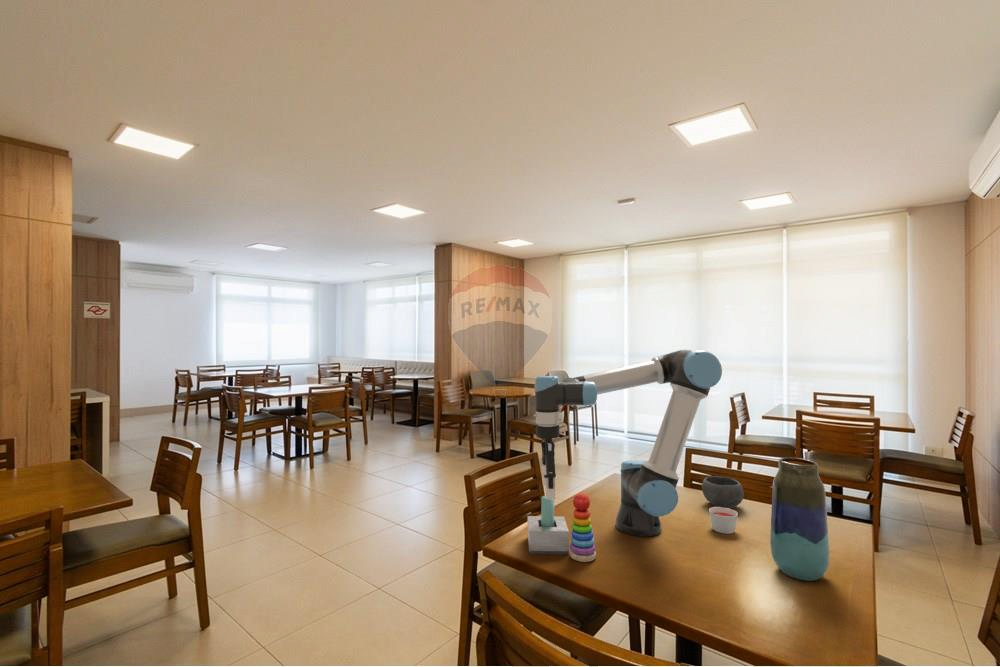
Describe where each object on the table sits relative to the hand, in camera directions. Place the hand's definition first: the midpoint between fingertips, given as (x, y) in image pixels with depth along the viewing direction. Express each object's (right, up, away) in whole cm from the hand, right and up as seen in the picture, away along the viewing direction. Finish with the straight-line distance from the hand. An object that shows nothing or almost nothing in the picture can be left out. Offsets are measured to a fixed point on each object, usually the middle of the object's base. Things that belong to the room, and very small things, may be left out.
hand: (548, 491), depth 145 cm
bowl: (+73, -19, +36) cm, 84 cm away
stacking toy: (+9, -17, -8) cm, 21 cm away
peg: (-1, -16, 0) cm, 16 cm away
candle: (+62, -18, +13) cm, 65 cm away
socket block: (-1, -17, 0) cm, 17 cm away
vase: (+68, -17, -18) cm, 73 cm away
